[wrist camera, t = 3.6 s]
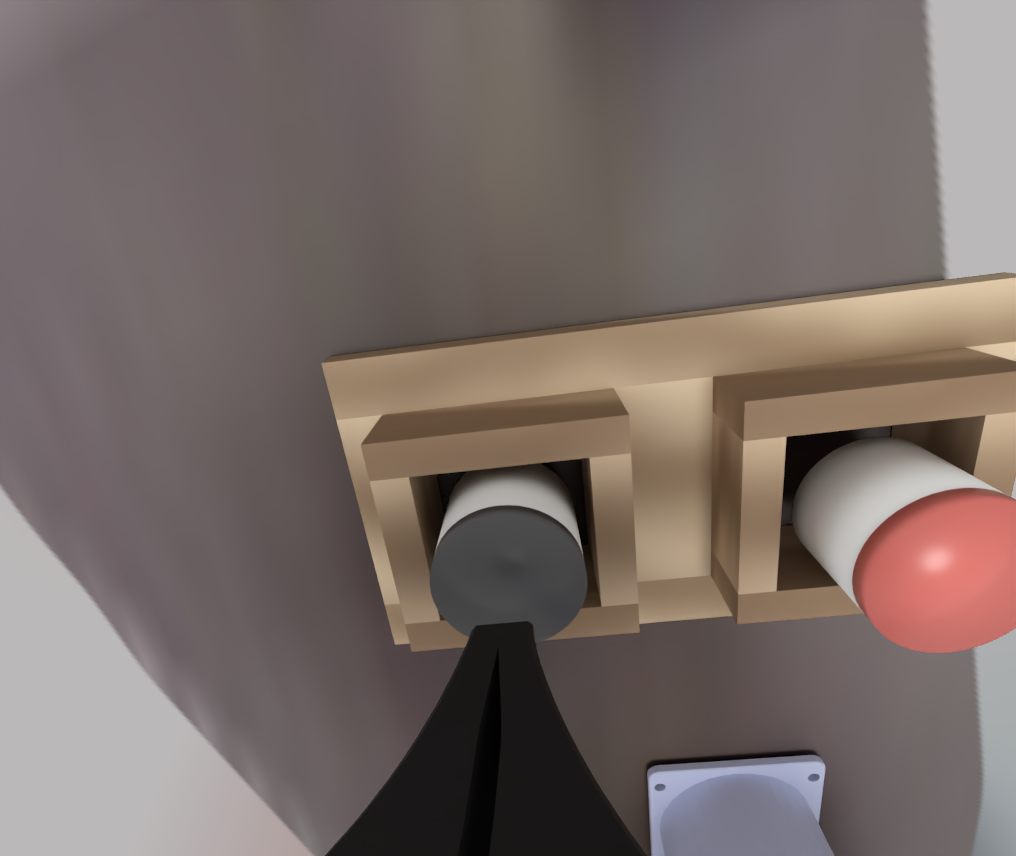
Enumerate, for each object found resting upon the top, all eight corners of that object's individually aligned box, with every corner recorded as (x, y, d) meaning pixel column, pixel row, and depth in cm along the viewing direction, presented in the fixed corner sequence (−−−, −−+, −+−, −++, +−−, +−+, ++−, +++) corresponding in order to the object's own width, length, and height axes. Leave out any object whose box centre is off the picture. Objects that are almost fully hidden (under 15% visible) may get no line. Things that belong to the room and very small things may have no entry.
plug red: (929, 556, 17) (1038, 645, 13) (787, 569, 17) (857, 659, 14) (952, 428, 15) (1084, 490, 12) (796, 445, 16) (878, 510, 12)
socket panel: (943, 579, 21) (1024, 647, 17) (400, 627, 22) (378, 698, 19) (1004, 272, 17) (1127, 284, 13) (331, 356, 18) (289, 385, 15)
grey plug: (579, 561, 19) (592, 640, 15) (458, 573, 19) (444, 652, 16) (568, 450, 17) (580, 508, 14) (437, 464, 18) (415, 525, 14)
